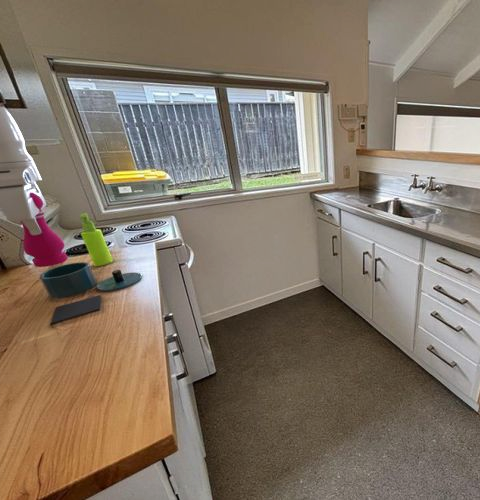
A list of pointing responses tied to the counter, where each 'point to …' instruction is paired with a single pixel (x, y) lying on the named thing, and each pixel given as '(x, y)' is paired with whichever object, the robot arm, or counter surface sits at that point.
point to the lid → (119, 281)
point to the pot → (68, 280)
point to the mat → (76, 309)
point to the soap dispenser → (95, 242)
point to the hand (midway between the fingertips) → (39, 231)
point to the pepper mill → (43, 241)
